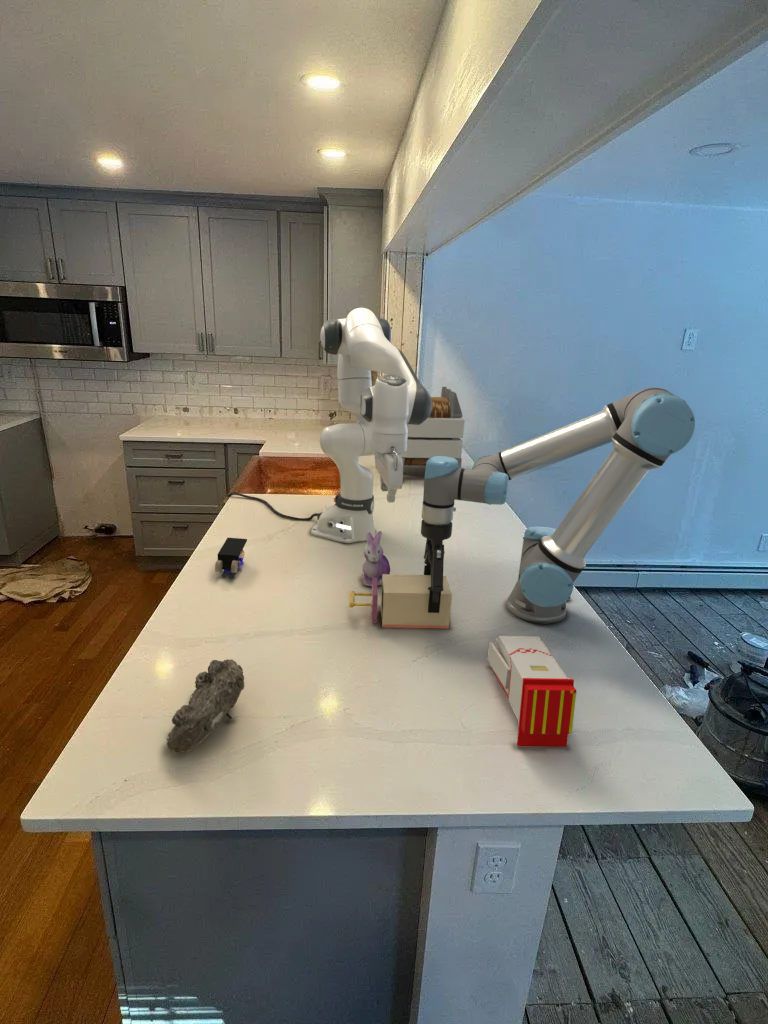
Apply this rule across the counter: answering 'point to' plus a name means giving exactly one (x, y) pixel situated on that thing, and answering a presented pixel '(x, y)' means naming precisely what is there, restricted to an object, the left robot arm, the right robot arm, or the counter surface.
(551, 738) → the toy
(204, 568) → the counter surface
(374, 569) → the figurine
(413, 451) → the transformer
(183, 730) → the fossil
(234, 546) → the figurine character
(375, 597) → the drawer
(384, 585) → the beige drawer cabinet
